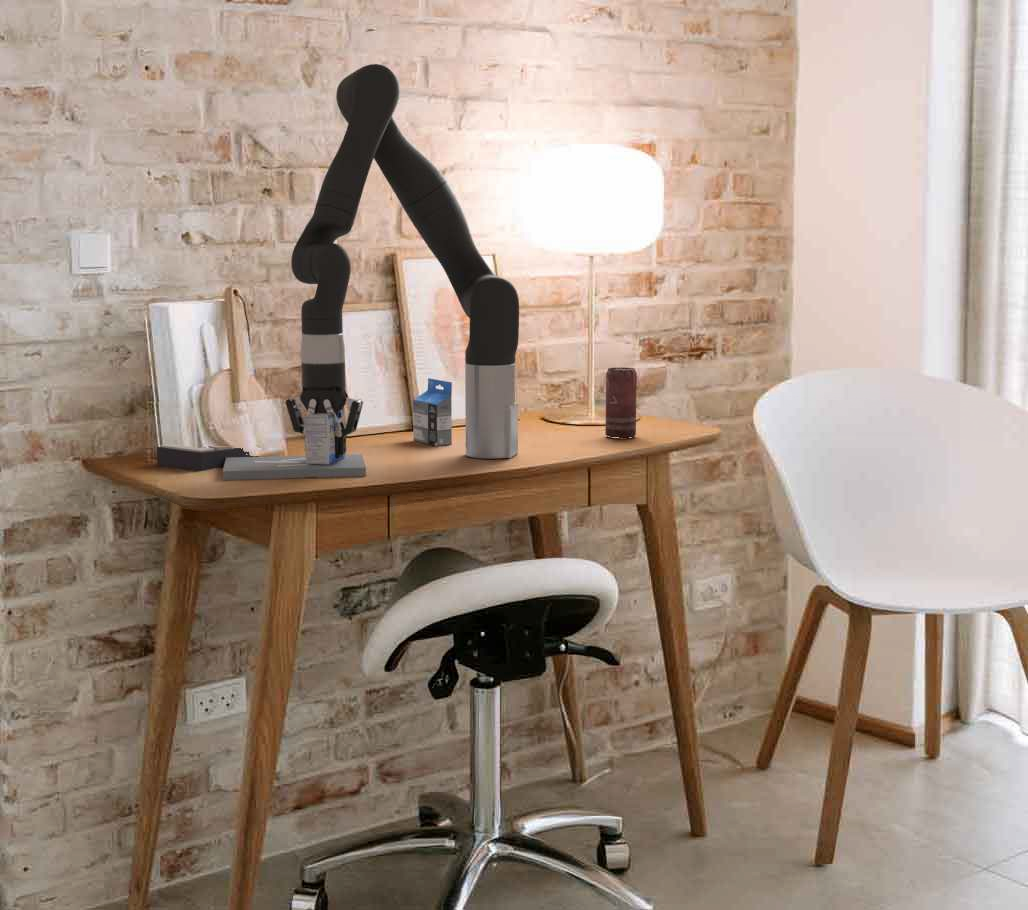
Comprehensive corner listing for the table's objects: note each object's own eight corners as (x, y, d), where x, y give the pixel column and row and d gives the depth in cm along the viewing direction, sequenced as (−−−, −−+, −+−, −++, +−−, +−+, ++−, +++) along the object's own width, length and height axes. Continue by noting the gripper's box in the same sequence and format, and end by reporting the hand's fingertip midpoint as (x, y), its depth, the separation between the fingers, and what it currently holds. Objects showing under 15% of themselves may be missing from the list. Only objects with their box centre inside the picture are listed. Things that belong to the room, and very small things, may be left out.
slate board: (361, 462, 248) (361, 454, 248) (366, 476, 234) (365, 467, 234) (226, 465, 244) (226, 457, 244) (222, 480, 231) (222, 471, 230)
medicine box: (329, 465, 236) (328, 415, 234) (304, 464, 237) (303, 414, 235) (345, 458, 243) (344, 409, 242) (322, 457, 244) (321, 408, 243)
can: (628, 440, 273) (629, 370, 271) (600, 437, 277) (600, 368, 274) (642, 436, 278) (643, 367, 276) (614, 433, 282) (615, 366, 279)
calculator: (260, 441, 251) (199, 448, 238) (259, 465, 251) (199, 472, 239) (217, 436, 257) (155, 442, 244) (217, 459, 257) (155, 466, 245)
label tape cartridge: (412, 440, 273) (411, 379, 271) (428, 439, 275) (427, 377, 273) (436, 446, 266) (435, 383, 264) (453, 444, 268) (452, 382, 266)
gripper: (369, 358, 239) (371, 455, 242) (293, 356, 242) (296, 452, 245) (354, 362, 232) (356, 462, 235) (275, 361, 235) (279, 459, 238)
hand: (325, 456), depth 240 cm, fingers closed on medicine box, 4 cm apart
